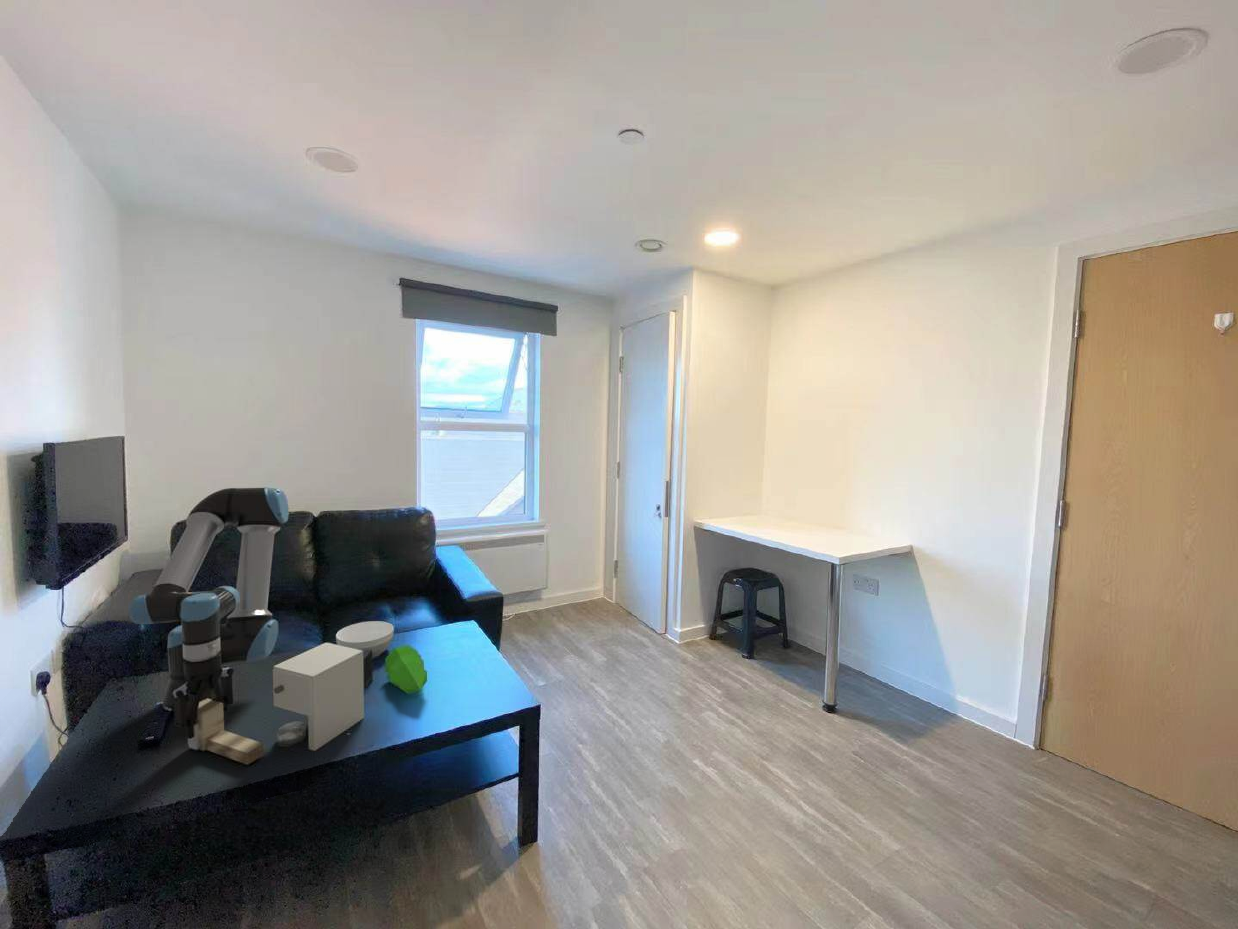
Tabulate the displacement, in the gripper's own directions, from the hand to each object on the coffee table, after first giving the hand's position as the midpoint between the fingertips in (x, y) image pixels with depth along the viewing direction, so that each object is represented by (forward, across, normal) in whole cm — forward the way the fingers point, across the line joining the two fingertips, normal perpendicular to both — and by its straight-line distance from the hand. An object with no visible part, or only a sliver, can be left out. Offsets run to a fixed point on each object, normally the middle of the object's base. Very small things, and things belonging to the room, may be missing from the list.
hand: (206, 741), depth 134 cm
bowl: (+2, +56, +4) cm, 56 cm away
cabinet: (+1, +17, -20) cm, 26 cm away
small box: (+2, +38, -9) cm, 39 cm away
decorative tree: (+2, +43, -26) cm, 50 cm away
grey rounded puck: (+1, +10, -17) cm, 20 cm away
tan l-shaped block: (0, 0, -7) cm, 8 cm away
